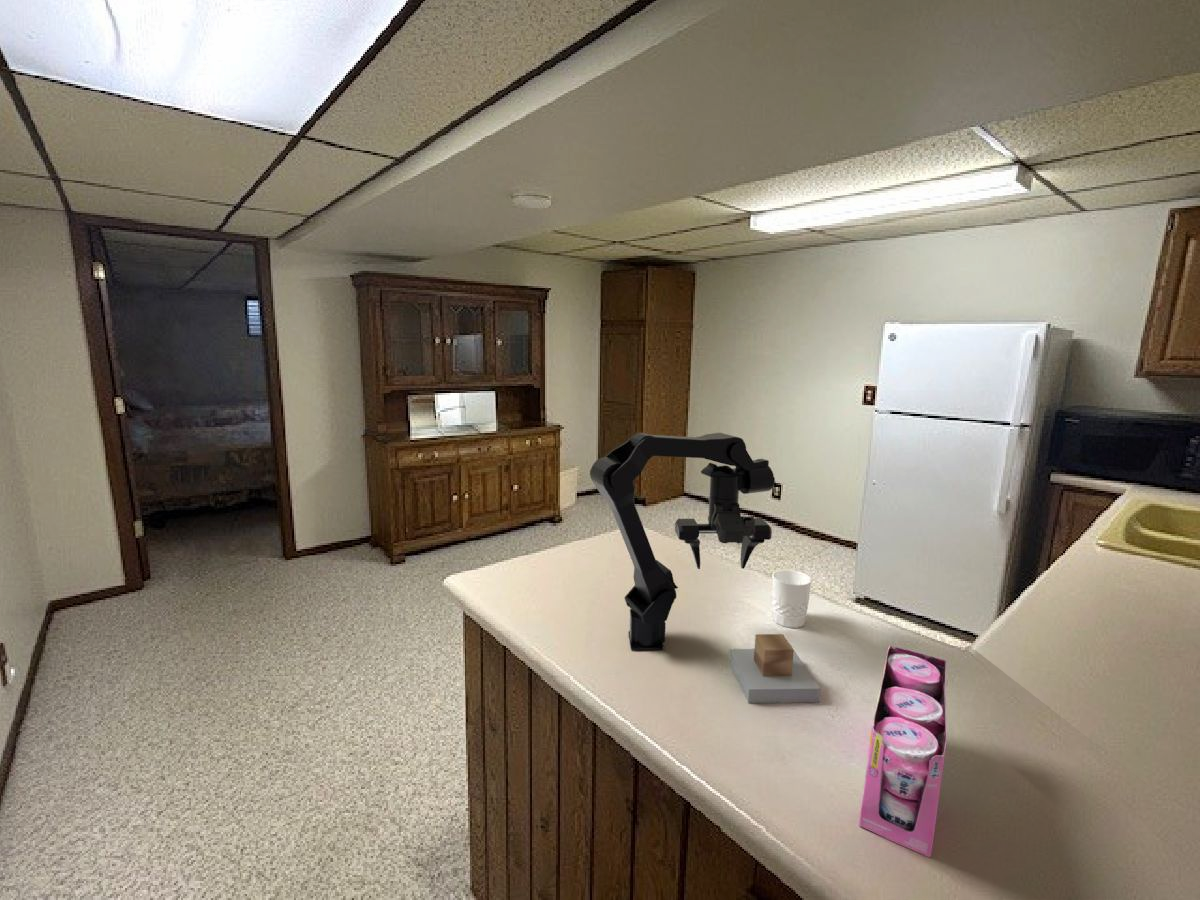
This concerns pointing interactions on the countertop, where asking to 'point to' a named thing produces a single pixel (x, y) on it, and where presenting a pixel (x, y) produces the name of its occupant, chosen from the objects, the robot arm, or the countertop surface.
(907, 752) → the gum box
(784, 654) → the walnut cube
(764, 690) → the slate tile
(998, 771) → the countertop surface
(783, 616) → the white cup
